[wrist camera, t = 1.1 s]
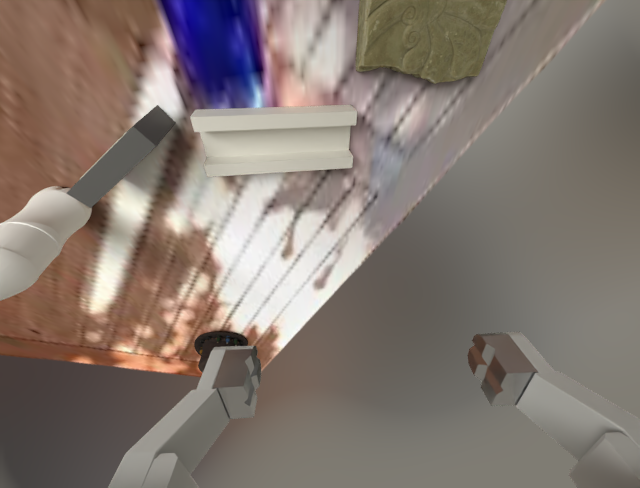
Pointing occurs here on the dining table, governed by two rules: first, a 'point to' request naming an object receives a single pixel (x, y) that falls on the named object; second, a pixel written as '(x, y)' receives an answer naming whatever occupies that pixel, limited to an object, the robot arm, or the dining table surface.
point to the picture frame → (122, 157)
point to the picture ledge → (275, 139)
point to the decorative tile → (426, 36)
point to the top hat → (216, 344)
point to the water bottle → (37, 237)
